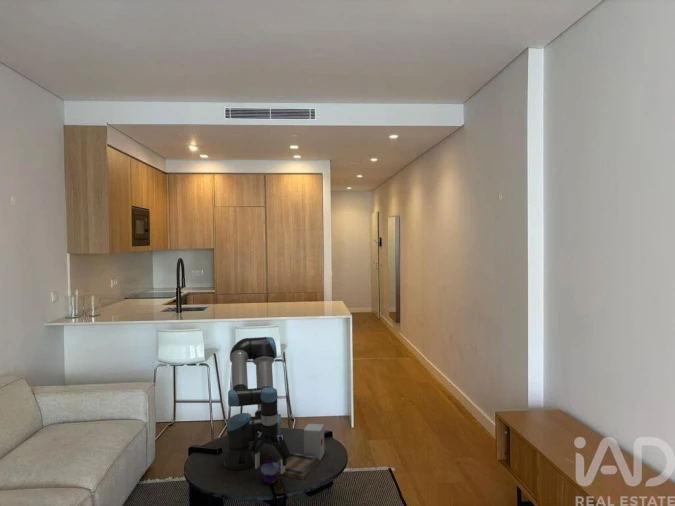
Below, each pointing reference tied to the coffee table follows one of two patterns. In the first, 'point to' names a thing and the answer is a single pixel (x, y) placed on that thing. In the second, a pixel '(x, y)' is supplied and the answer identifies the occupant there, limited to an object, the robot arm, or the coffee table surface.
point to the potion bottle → (269, 469)
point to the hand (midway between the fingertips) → (270, 469)
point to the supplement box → (314, 440)
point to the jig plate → (298, 465)
